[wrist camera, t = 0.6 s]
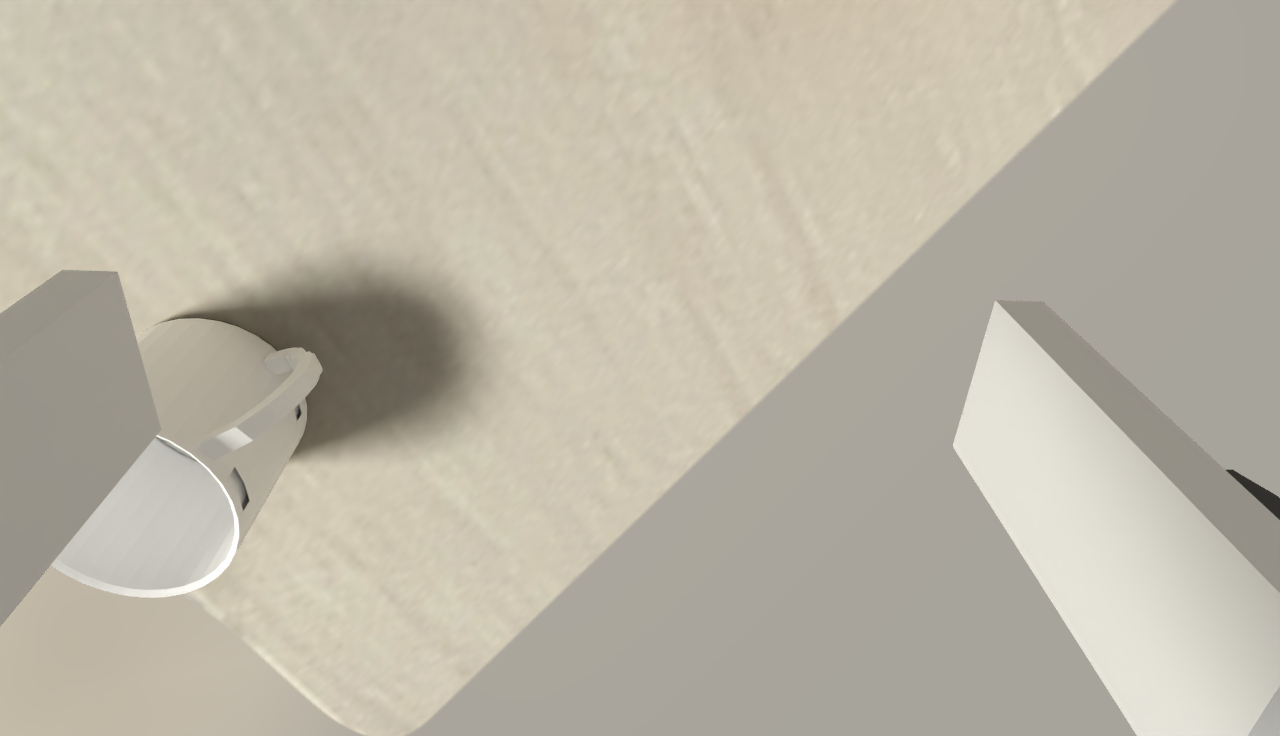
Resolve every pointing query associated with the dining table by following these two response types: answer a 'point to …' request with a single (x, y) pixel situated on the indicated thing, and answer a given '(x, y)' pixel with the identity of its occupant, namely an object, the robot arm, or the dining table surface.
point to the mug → (196, 460)
